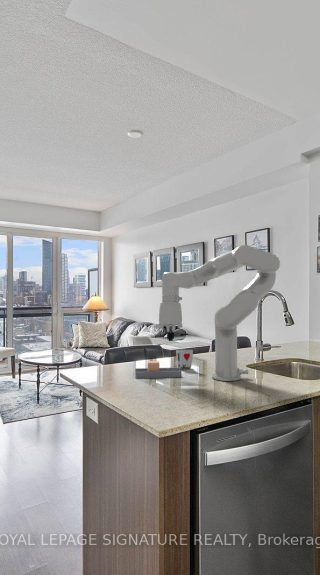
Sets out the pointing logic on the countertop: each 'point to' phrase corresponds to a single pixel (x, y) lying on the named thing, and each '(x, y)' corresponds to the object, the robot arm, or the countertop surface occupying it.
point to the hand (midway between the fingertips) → (170, 340)
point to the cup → (184, 359)
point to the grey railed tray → (157, 373)
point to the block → (153, 366)
